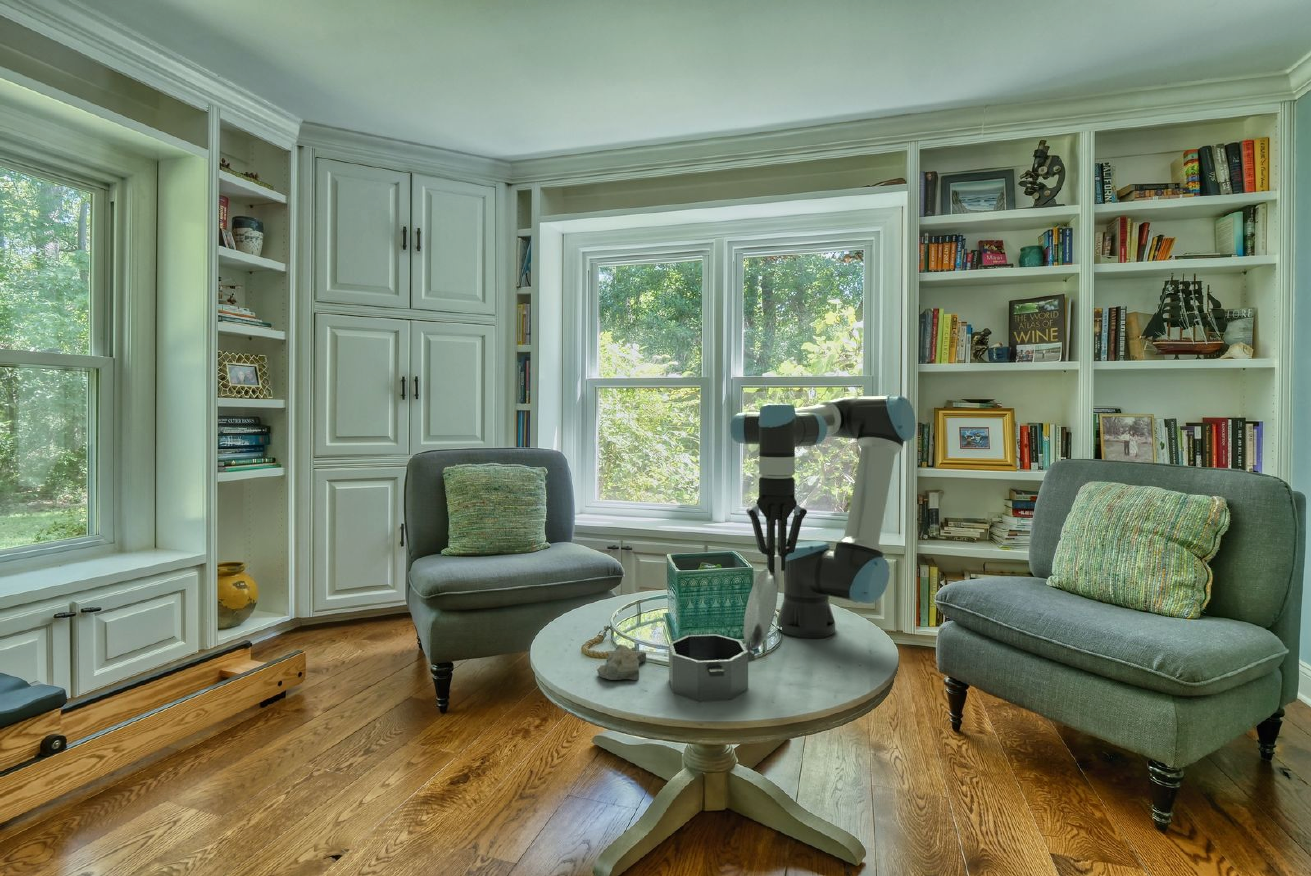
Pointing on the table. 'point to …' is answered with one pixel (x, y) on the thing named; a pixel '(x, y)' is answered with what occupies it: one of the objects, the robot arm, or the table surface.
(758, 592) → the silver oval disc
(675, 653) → the pot
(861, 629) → the table surface
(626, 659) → the stone
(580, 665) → the table surface
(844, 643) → the table surface
